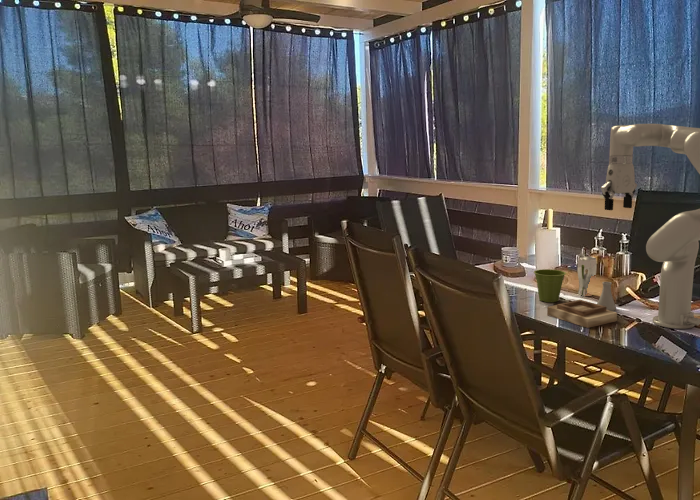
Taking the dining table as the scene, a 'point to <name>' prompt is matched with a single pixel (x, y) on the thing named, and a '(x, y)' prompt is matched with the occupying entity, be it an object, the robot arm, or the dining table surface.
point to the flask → (607, 297)
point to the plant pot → (549, 284)
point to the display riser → (582, 313)
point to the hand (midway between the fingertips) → (618, 208)
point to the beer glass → (585, 273)
